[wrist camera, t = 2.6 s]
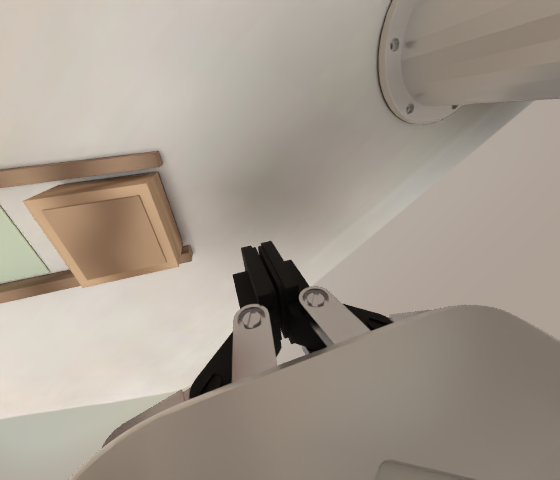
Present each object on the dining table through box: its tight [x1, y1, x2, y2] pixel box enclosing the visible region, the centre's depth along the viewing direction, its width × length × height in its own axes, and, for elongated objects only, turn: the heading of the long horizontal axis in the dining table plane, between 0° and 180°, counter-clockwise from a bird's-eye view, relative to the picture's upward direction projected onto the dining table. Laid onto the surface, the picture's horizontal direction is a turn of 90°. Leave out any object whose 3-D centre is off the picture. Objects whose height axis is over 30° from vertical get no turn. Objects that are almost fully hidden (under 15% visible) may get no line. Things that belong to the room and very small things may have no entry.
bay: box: [0, 151, 192, 303], centre depth 17 cm, size 23×10×2 cm, turn 95°
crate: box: [23, 172, 183, 288], centre depth 18 cm, size 7×7×4 cm
